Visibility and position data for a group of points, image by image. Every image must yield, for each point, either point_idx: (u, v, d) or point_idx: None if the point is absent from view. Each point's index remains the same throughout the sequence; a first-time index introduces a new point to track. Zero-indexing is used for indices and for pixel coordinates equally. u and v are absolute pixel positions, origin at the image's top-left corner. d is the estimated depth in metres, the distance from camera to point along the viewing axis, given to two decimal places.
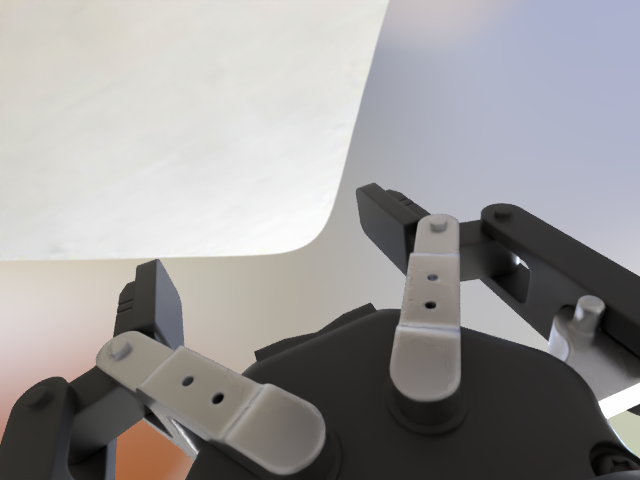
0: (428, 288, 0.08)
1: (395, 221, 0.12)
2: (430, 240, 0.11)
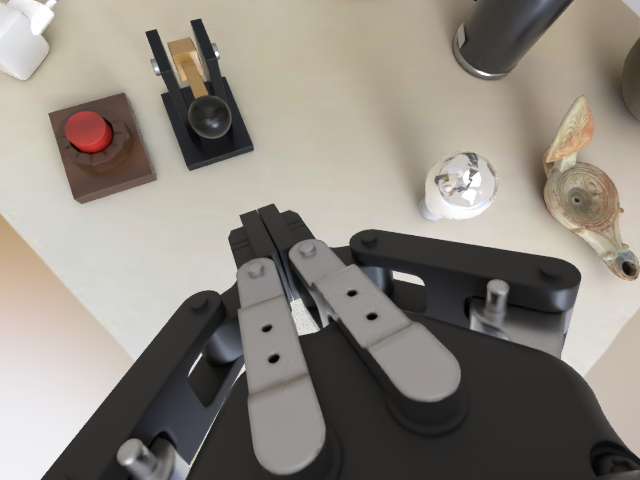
0: (357, 303, 0.08)
1: (275, 245, 0.12)
2: (313, 266, 0.11)
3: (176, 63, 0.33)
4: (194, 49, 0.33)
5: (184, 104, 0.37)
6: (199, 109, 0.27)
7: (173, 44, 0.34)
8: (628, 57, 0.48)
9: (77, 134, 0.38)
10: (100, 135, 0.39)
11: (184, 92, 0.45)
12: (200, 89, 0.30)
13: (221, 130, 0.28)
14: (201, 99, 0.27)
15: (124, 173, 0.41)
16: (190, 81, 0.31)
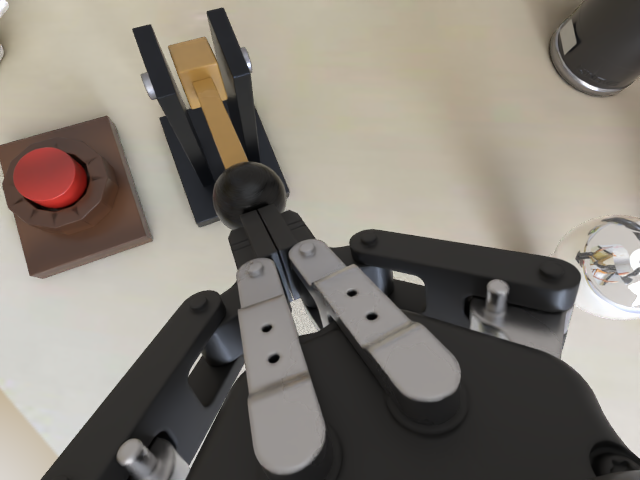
0: (357, 303, 0.08)
1: (275, 245, 0.12)
2: (313, 266, 0.11)
3: (184, 83, 0.20)
4: (214, 61, 0.20)
5: (194, 141, 0.24)
6: (235, 196, 0.15)
7: (178, 49, 0.21)
8: None
9: (32, 183, 0.25)
10: (67, 185, 0.26)
11: (192, 115, 0.32)
12: (229, 140, 0.18)
13: None
14: (238, 176, 0.15)
15: (105, 235, 0.28)
16: (210, 122, 0.18)
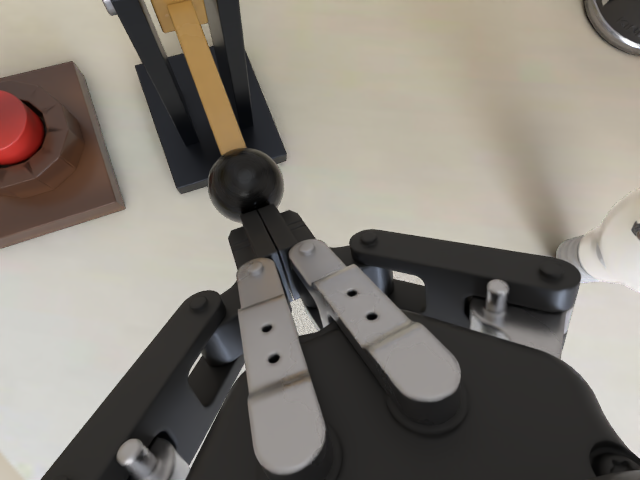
0: (357, 303, 0.08)
1: (275, 245, 0.12)
2: (313, 266, 0.11)
3: (156, 6, 0.16)
4: None
5: (169, 78, 0.19)
6: (236, 198, 0.14)
7: None
8: None
9: None
10: (15, 134, 0.21)
11: (174, 63, 0.27)
12: (221, 110, 0.16)
13: None
14: (239, 176, 0.14)
15: (67, 199, 0.24)
16: (197, 78, 0.16)
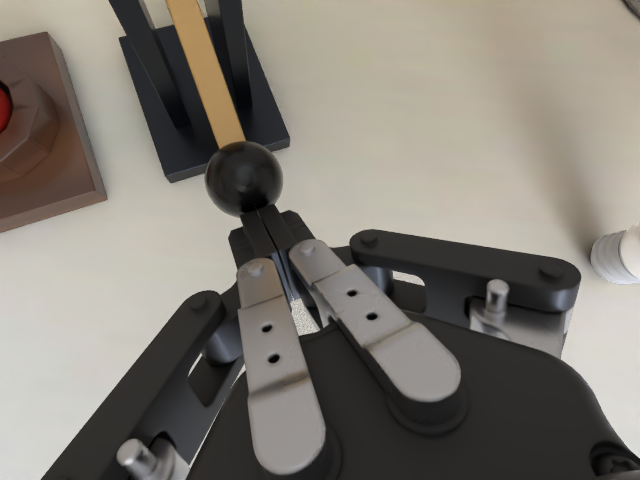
0: (357, 303, 0.08)
1: (275, 245, 0.12)
2: (313, 266, 0.11)
3: None
4: None
5: (152, 42, 0.16)
6: (237, 201, 0.14)
7: None
8: None
9: None
10: None
11: (163, 35, 0.24)
12: (218, 96, 0.14)
13: None
14: (241, 180, 0.14)
15: (39, 188, 0.21)
16: (190, 56, 0.14)
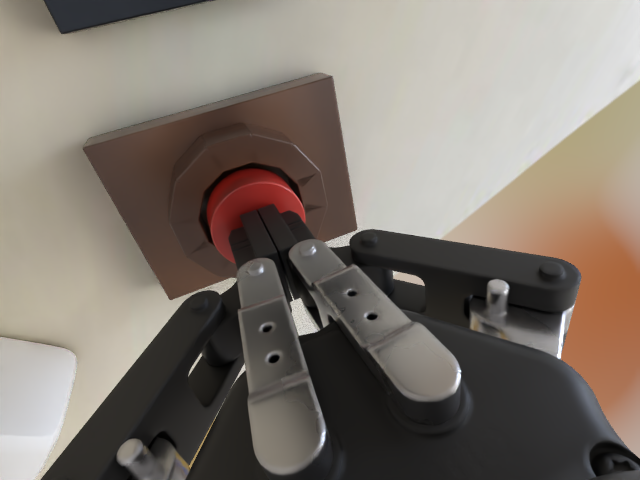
0: (357, 303, 0.08)
1: (275, 245, 0.12)
2: (313, 266, 0.11)
3: None
4: None
5: None
6: None
7: None
8: None
9: None
10: (283, 192, 0.15)
11: None
12: None
13: None
14: None
15: (321, 141, 0.18)
16: None
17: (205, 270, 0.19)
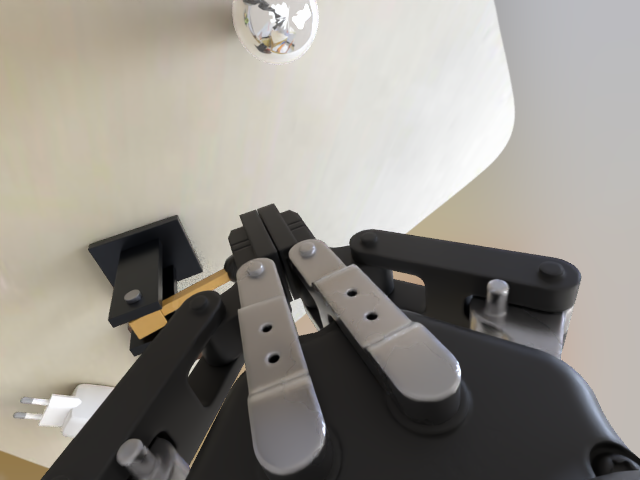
0: (357, 303, 0.08)
1: (275, 245, 0.12)
2: (313, 266, 0.11)
3: (165, 319, 0.36)
4: None
5: None
6: None
7: (144, 332, 0.35)
8: None
9: None
10: None
11: None
12: (211, 284, 0.38)
13: None
14: None
15: None
16: None
17: None
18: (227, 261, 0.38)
